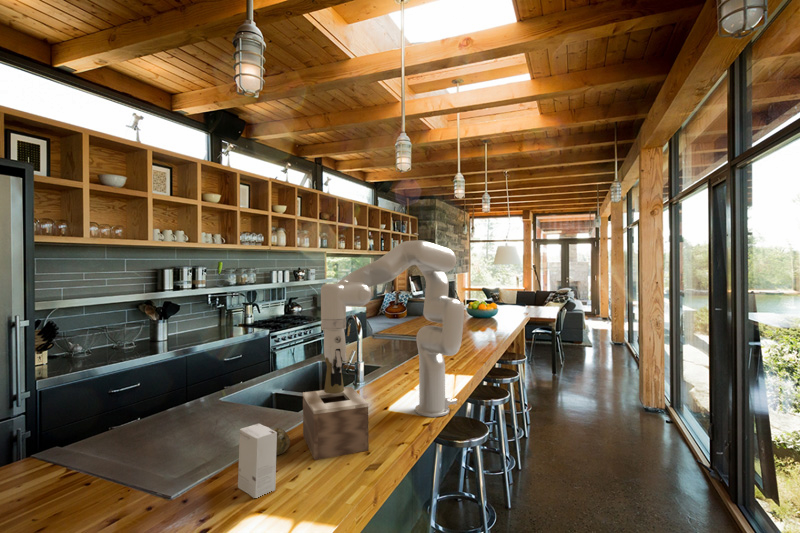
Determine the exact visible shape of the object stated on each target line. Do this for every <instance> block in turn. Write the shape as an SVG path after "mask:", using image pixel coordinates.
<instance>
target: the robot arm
mask: <svg viewBox="0 0 800 533" xmlns="http://www.w3.org/2000/svg"><path fill="white" fill-rule="evenodd" d="M455 254H456V253H455V252H454V251H453V250H452V249H450V248H449V247H447V246H442V245H439V244H437V243H433V242H430V241H427V240H420V239H418V240H405V241H402V242H400V243H398V245H395V246H394V247H393V248H392V249H390V251H387V253H385V254H384V255H383V256H381V257H380V258H378V259H377V260H375V261H372V262H371V263H370V262H369V263H368V264H365V265H364V266H362V267H359V268H358V269H356V270H354V271H351V273H349V274H347V275H346V276H345V277H343V278H342V279H340V280H339V281H338V282H337V283H326V284H325V283H324V284H323V285H322V286H321V287H320V319H321V320H320V327H321V329H320V330H321V331H323V333H324V334H323V355H324V358H325V359H326V357H327V358H328V360H329V362H330V363H331V368H332V373H331V386H332V387H333V386H334V385H335V384H338V385H339V386H341V385H342V378H343V377H342V378H341V371H342V366H343V365H342V364H343V363H346V362H347V344H346V334H345V330H346V329H347V315H346V314H347V307H357V308H359V307H363V306H367V304H369V302H370V301H371V299H372V295H373V293H372V290H371V287H374V286H379V285H384V284H386V283H389V282H392V281H394V280H395V279H396V278H398V277H399V275H401V274H402V273H403V272H405V271H406V270H407V269H409V268H410V267H411V266H416V267H417V269H418V271H420V272H421V274H422V275H423V277H424V279H425V294H424V301H423V316H424V318H425V319H426V320H427V321H429V322H432V323H437V324H442V326H439V325H438V326H437V325H431V324H429V325H428V324H427V325H424V326H421V327H420V329H419V330H418V331H417V333H416V338H415V339H416V346H417V351H418V360H419V362H418V363H419V364H418V365H419V368H418V370H419V371H418V373H419V374H418V377H419V378H418V383H419V384H418V385H419V386H418V387H419V388H418V389H419V390H418V391H419V395H418V397H419V398H418V399H419V400H418V402H419V403H418V404H417V405H416V406H415V409H414V411H415V412H416V414H418V415H420V416H423V417H430V418H434V417H435V418H436V417H437V418H438V417H443V416H446V415H448V414H449V413H450V407H449V406H450V405H457V404H458V399H457V398H451V397H447V398H446V361H445V357H444V356H447V357H449V356H451V357H452V356H455V355H456V354H457V353H458V352H459V351H460V349H461V345H462V341H463V332H464V323H465V310H464V306H463V304H462V302H461V301H460V300H459V299H457V298H455V297H449V288H450V287H449V286H450V285H449V284H450V283H449V279H448V276H447V274H446V273H448V272H450V271H453V269H454V268H455V266H456V263H457V257H456V255H455ZM341 358H342V359H341ZM333 359H334V360H333ZM335 360H336V362H335V363H333V362H334V361H335ZM341 360H342V363H341ZM334 365H336V366H335V367H334Z"/></svg>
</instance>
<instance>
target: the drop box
mask: <svg viewBox="0 0 800 533" xmlns="http://www.w3.org/2000/svg"><path fill="white" fill-rule="evenodd" d="M302 436H303V439H304V440H305V443H306V445H307V447H308V450H309V452H310V453H311V456H312V458H313V460H314V461H317V460H322V459H324V460H325V459H329V458H335V457H338V456H345V455H350V454H355V453H363V452H367V451H368V452H369V450H370V448H369V442H370V441H369V403H368V401H366V400H365V398H364V397H363V396H361V395H360V394H359V393H358V392H357V391H356V390H355V388H353V387H352V386H348V387H347V386H346V387H345V386H344V391H343V392H341V393H335V394H330V393H326V392H324V389H322V390H321V389H320V390H313V391H305V392H304V391H303V392H302Z"/></svg>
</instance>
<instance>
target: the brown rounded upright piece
mask: <svg viewBox="0 0 800 533" xmlns="http://www.w3.org/2000/svg"><path fill="white" fill-rule="evenodd" d="M341 359H342V358H341ZM324 360H325V364H326V374H325V380H324V381H325V382H324V389H323V390H324V392H326V393H330V394H335V393H341V392H343V391H344V388H345V386H344V380H343V374H342V373H343V372H342V370H341V378H342V385H341V386H339V385H338V384H335V385H334V386H333V387H332V386H331V373H332V368H331V363H330V362H329V360H328V358H327V357H326V358H325V359H324ZM333 360H334V359H333ZM335 362H336V360H335V361H334V362H333V363H335ZM341 363H342V364H343V361H342V360H341ZM335 366H336V365H334V367H335Z"/></svg>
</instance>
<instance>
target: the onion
mask: <svg viewBox="0 0 800 533" xmlns="http://www.w3.org/2000/svg"><path fill="white" fill-rule="evenodd" d="M272 430H273V431H275V432H277V447H276V456H279V455H282V454H284V453H285V452H287V450H288V449H289V447H290V445H291V438H290V435H289V434H288V432H286V431H285V430H283V428H281V427H279V428H278V427H277V426H276V427H274V429H272Z"/></svg>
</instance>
